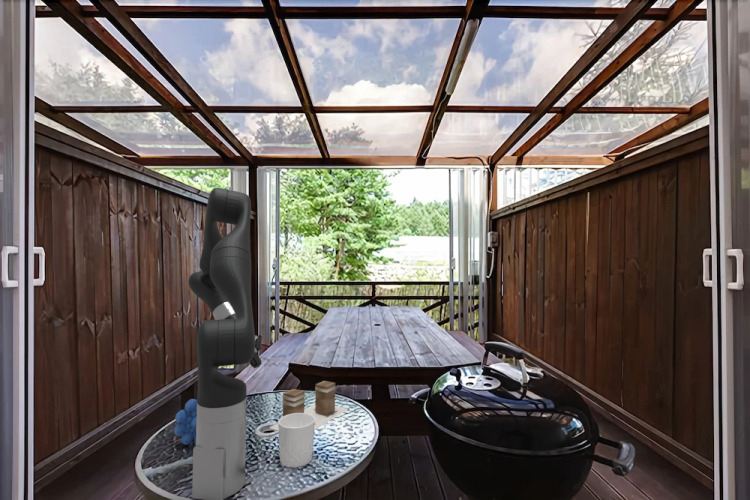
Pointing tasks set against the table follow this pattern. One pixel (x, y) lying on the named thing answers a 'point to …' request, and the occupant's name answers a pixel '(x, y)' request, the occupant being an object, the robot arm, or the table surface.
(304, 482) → the table surface
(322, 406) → the one band post
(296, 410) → the two band post
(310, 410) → the white rectangular board
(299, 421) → the white cup
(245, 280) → the robot arm
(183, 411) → the grapes
